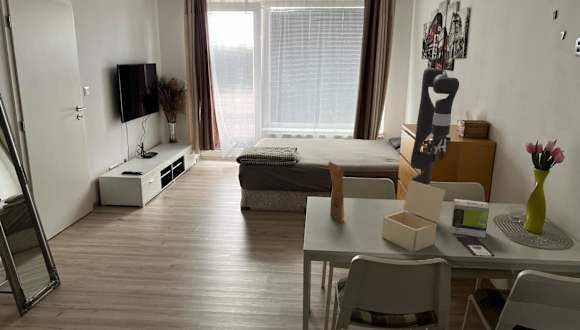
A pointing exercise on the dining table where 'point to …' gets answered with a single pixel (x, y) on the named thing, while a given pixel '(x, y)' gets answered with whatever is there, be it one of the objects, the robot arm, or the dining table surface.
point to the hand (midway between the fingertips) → (436, 160)
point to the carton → (409, 231)
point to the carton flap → (424, 200)
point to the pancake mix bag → (337, 193)
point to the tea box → (469, 218)
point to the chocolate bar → (475, 246)
